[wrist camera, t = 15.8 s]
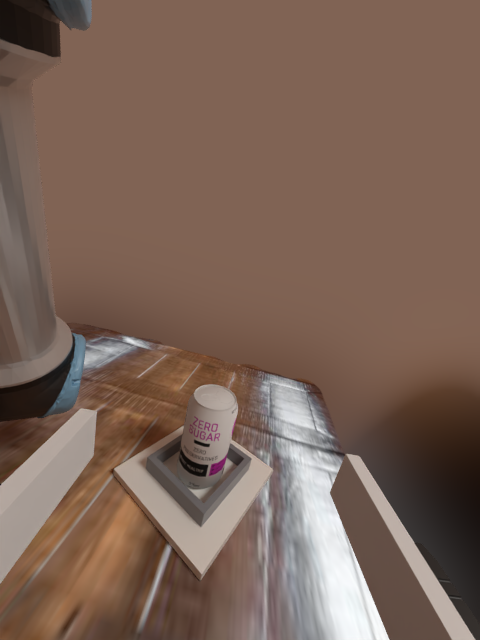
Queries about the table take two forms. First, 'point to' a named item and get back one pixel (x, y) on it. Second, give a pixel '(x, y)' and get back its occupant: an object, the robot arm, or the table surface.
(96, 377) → the table surface
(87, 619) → the table surface
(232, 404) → the supplement can
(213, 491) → the socket board
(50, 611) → the table surface
